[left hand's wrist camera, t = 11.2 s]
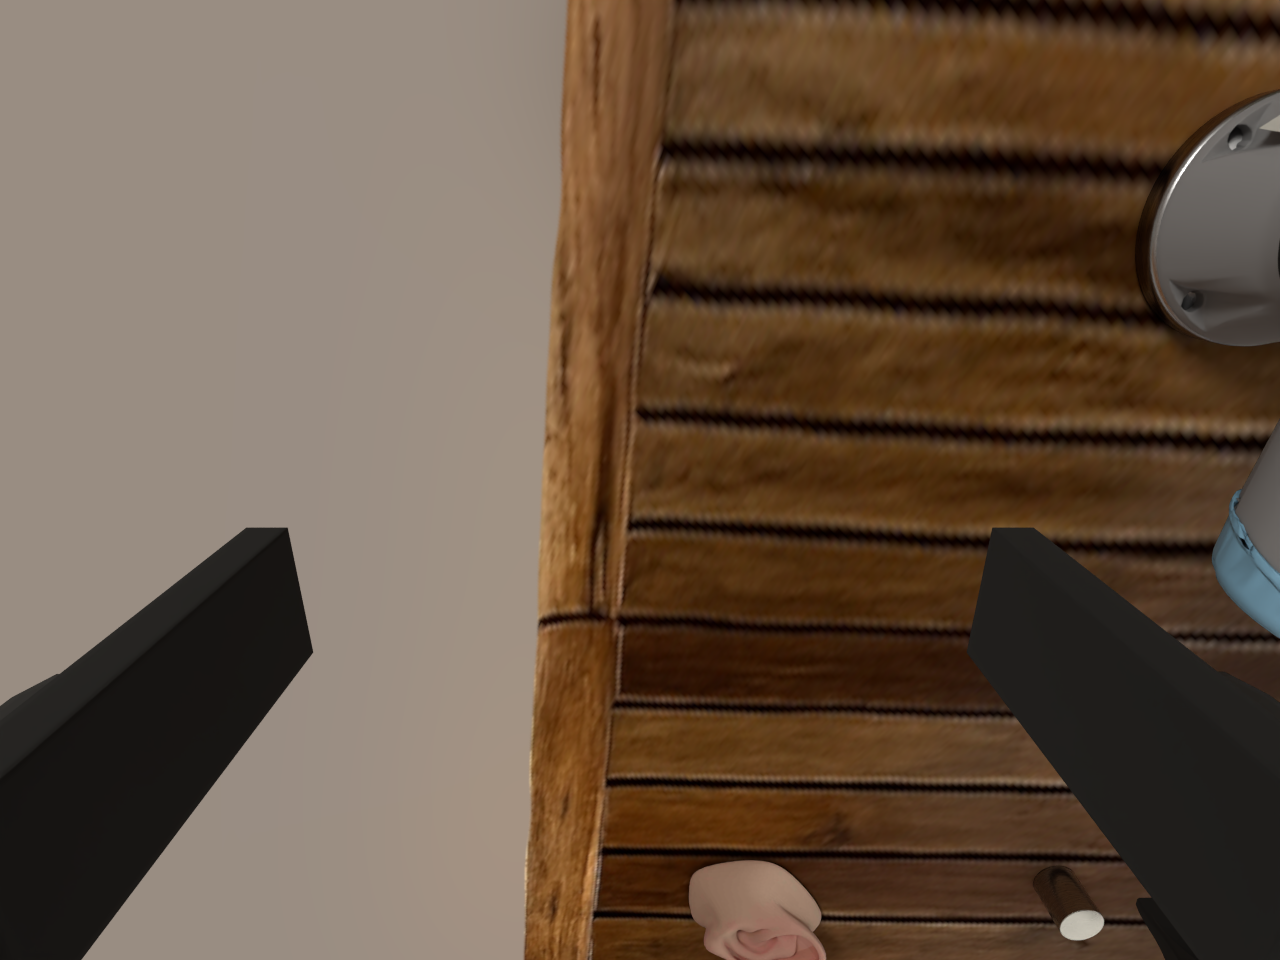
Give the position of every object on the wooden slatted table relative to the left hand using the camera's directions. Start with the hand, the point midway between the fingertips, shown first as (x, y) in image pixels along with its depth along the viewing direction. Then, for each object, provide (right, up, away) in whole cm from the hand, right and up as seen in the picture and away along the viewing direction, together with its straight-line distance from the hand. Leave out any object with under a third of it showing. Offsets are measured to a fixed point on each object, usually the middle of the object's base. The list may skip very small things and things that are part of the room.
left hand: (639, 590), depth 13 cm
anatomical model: (+11, -39, +53) cm, 67 cm away
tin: (+40, -36, +52) cm, 75 cm away
